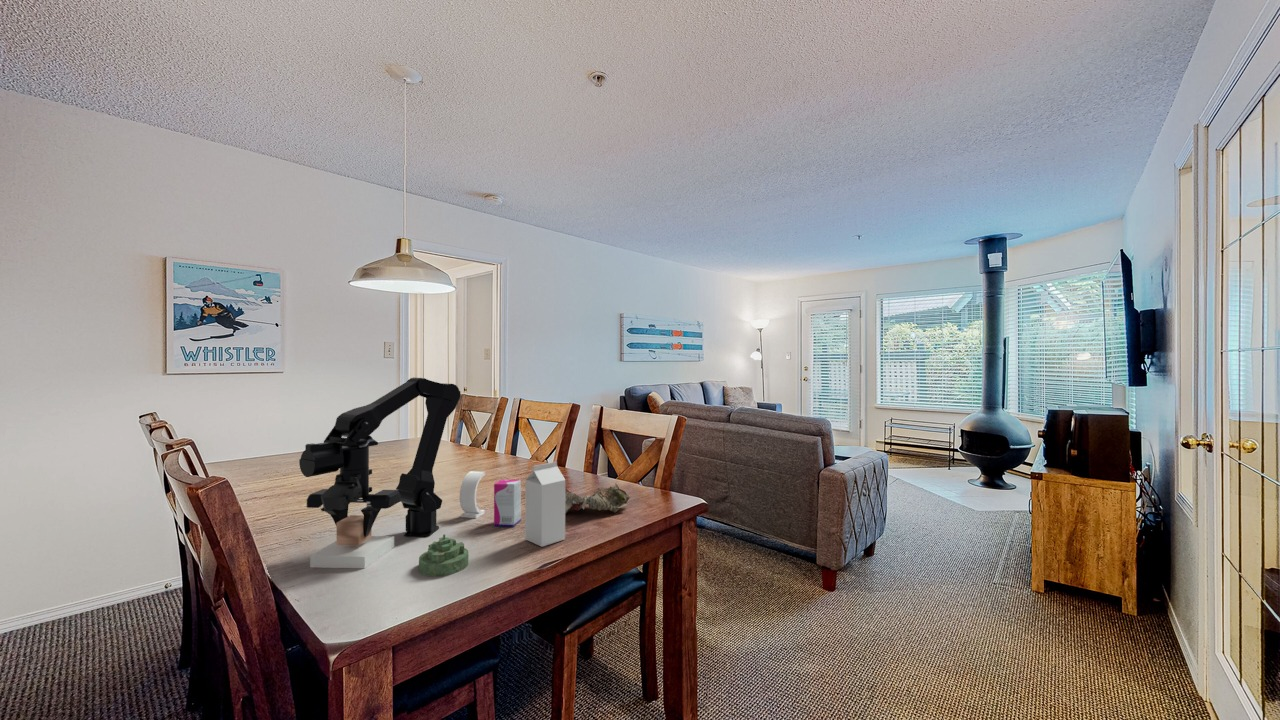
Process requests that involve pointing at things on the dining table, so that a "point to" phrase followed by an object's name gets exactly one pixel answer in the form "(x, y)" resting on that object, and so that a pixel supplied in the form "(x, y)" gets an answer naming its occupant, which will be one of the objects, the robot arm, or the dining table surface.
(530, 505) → the milk carton
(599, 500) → the grey furry oblong lump
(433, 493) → the robot arm
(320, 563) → the grey plate
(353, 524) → the terracotta cube
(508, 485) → the supplement box
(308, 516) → the dining table surface
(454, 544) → the decorative artifact
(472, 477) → the headphone stand
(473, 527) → the dining table surface
